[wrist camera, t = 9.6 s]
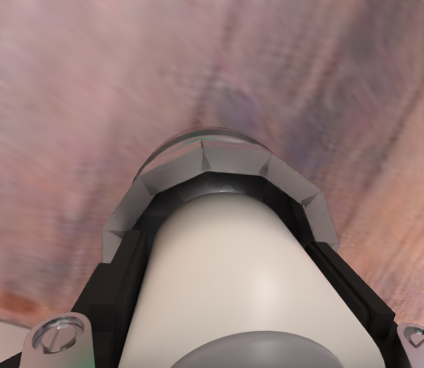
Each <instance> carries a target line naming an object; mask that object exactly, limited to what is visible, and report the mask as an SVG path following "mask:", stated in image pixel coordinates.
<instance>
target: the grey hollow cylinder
mask: <svg viewBox="0 0 424 368" xmlns="http://www.w3.org/2000/svg"><path fill="white" fill-rule="evenodd" d="M217 192H233V193H240V194H244V195H247V196H250V197H253V198H255V199H257V200H259V201H261V202H262V203H264V204H266V205H267V206H268V207H269V208H271V209H272V210H273V211H274V212H275V213H276V214H277V215H278V217H279V218H280V219H281V220H282V222H283V223H284V224H285V226H286V227H287V228H288V230H289V231H290V232H291V233H292V235H293V236H294V237H295V239H296V240H297V241H298V243H299V244H300V245H301V246H302V248H303V249H304V248H305V246H306V245H307V244H309V243H310V242H311V241H317V242H326V243H328V245H329V246H330V247H331V248H332V249H333V250H334V251H335V252H336V253H337V251H338V248H339V240H338V237H337V234H336V231H335V228H334V225H333V222H332V219H331V216H330V213H329V210H328V207H327V204H326V201H325V198H324V195H323V192H322V191H321V189H319V188H318V187H317V186H315V185H314V184H313V183H312V182H310V181H309V180H308V179H306V178H305V177H304V176H302V175H301V174H300V173H298V172H297V171H296V170H294V169H293V168H292V167H290V166H289V165H288V164H286V163H285V162H284V161H282V160H281V159H280V158H278V157H277V156H276V155H275V154H273V153H272V152H271V151H270V150H269V149H268V148H266V147H265V146H263V145H262V144H260V143H259V142H257V141H255V140H254V139H252V138H250V137H248V136H246V135H244V134H242V133H240V132H237V131H234V130H231V129H226V128H220V127H198V128H193V129H189V130H187V131H184V132H181V133H179V134H177V135H176V136H174V137H172V138H170V139H168V140H167V141H166V142H164V143H163V144H162V145H160V146H159V147H158V148H157V149H156V150H155V151H154V152H153V153H152V154H151V156H150V157H149V158H148V159H147V161H146V162H145V163H144V165H143V166H142V167H141V168H140V170H139V171H138V173H137V175H136V177H135V178H134V180H133V183H132V185H131V187H130V189H129V190H128V192H127V193H126V195H125V196H124V198H123V199H122V201H121V202H120V204H119V205H118V207H117V208H116V209H115V211H114V212H113V214H112V215H111V217H110V218H109V220H108V221H107V223H106V224H105V226H104V227H103V230H102V234H103V263H111V261H112V259H113V257H114V255H115V253H116V251H117V249H118V247H119V245H120V243H121V241H122V239H123V237H124V236H125V234H126V232H127V230H138V231H143V235H148V243H147V263H148V259H149V256H150V252H151V248H152V245H153V241H154V238H155V236H156V233H157V231H158V229H159V227H160V226H161V224H162V223H163V221H164V220H165V219H166V218H167V217H168V215H169V214H171V213H172V212H173V211H174V210H175V209H176V208H178V207H179V206H180V205H182V204H183V203H185V202H187V201H189V200H191V199H193V198H196V197H198V196H201V195H205V194H209V193H217Z"/></svg>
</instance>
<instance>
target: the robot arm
mask: <svg viewBox="0 0 424 368" xmlns="http://www.w3.org/2000/svg"><path fill="white" fill-rule="evenodd" d="M147 243H148V235H143V231H138V230H127V232H126V234H125V236H124V237H123V239H122V241H121V243H120V245H119V247H118V249H117V251H116V253H115V255H114V257H113V259H112V261H111V263H99V264H98V266H97V267H96V269H95V271H94V272H93V274H92V276H91V277H90V279H89V281H88V283H87V284H86V286H85V288H84V289H83V291H82V293H81V295H80V296H79V298H78V300H77V301H76V303H75V305H74V306H73V308H72V310H71V312H65V313H59V314H56V315H53V316H50V317H48V318H46V319H44V320H42V321H41V322H39V323H38V324H37V325H35V326H34V327H33V328H32V329H31V330H30V332H29V333H28V334H27V336H26V338H25V341H24V344H23V350H22V352H20V353H18V354H16V355H14V356H12V357H11V358H9V359H7V360H5V361H3V362H1V363H0V368H118V367H119V363H120V359H121V356H122V352H123V349H124V345H125V342H126V338H127V334H128V331H129V327H130V324H131V320H132V316H133V313H134V309H135V306H136V302H137V299H138V295H139V291H140V288H141V284H142V281H143V277H144V274H145V270H146V266H147ZM304 250H305V252H306V253H307V254H308V256H309V257H310V258H311V259H312V261H313V262H314V263H315V265H316V266H317V267H318V269H319V270H320V271H321V273H322V274H323V275H324V276H325V278H326V279H327V280H328V282H329V283H330V284H331V286H332V287H333V288H334V289H335V291H336V292H337V293H338V295H339V296H340V297H341V299H342V300H343V301H344V302H345V304H346V305H347V306H348V308H349V309H350V310H351V312H352V313H353V314H354V315H355V317H356V318H357V319H358V321H359V322H360V323H361V325H362V326H363V327H364V329H365V330H366V331H367V332H368V334H369V335H370V336H371V338H372V339H373V341H374V342H375V344H376V345H377V347H378V348H379V351H380V353H381V355H382V358H383V360H384V364H385V368H424V327H423V326H421V325H418V324H414V323H401V324H399V325H397V324H396V323H395V322H394V321H393V320H394V317H395V315H396V314H395V313H394V312H393V311H392V310H391V309H390V308H389V307H388V306H387V305H386V303H385V302H384V301H383V300H382V299H381V298H380V297H379V296H378V295H377V294H376V293H375V292H374V291H373V290H372V289H371V288H370V287H369V286H368V285H367V284H366V283H365V282H364V281H363V280H362V279H361V278H360V277H359V276H358V275H357V273H356V272H355V271H354V270H353V269H352V268H351V267H350V266H349V265H348V264H347V263H346V262H345V261H344V260H343V259H342V258H341V257H340V256H339V255H338V254H337V253H336V252H335V251H334V250H333V249H332V248H331V247H330V246H329V245H328V243H326V242H317V241H311V242H310V243H309V244H307V245H306V246H305V248H304Z"/></svg>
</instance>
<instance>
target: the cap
mask: <svg viewBox="0 0 424 368" xmlns="http://www.w3.org/2000/svg"><path fill="white" fill-rule="evenodd" d="M118 368H385V364H384V360H383V358H382V355H381V353H380V351H379V348H378V347H377V345H376V344H375V342H374V341H373V339H372V338H371V336H370V335H369V334H368V332H367V331H366V330H365V329H364V327H363V326H362V325H361V323H360V322H359V321H358V319H357V318H356V317H355V315H354V314H353V313H352V312H351V310H350V309H349V308H348V306H347V305H346V304H345V302H344V301H343V300H342V299H341V297H340V296H339V295H338V293H337V292H336V291H335V289H334V288H333V287H332V286H331V284H330V283H329V282H328V280H327V279H326V278H325V276H324V275H323V274H322V273H321V271H320V270H319V269H318V267H317V266H316V265H315V263H314V262H313V261H312V259H311V258H310V257H309V256H308V254H307V253H306V252H305V250H304V249H303V248H302V246H301V245H300V244H299V243H298V241H297V240H296V239H295V237H294V236H293V235H292V233H291V232H290V231H289V230H288V228H287V227H286V226H285V224H284V223H283V222H282V220H281V219H280V218H279V217H278V215H277V214H276V213H275V212H274V211H273V210H272V209H271V208H269V207H268V206H267V205H266V204H264V203H262V202H261V201H259V200H257V199H255V198H253V197H250V196H247V195H244V194H240V193H233V192H217V193H209V194H205V195H201V196H198V197H196V198H193V199H191V200H189V201H187V202H185V203H183V204H182V205H180V206H179V207H178V208H176V209H175V210H174V211H173V212H172V213H171V214H169V215H168V217H167V218H166V219H165V220H164V221H163V223H162V224H161V226H160V227H159V229H158V231H157V233H156V236H155V238H154V241H153V245H152V248H151V252H150V256H149V259H148V263H147V266H146V270H145V274H144V277H143V281H142V284H141V288H140V291H139V295H138V299H137V302H136V306H135V309H134V313H133V316H132V320H131V324H130V327H129V331H128V334H127V338H126V342H125V345H124V349H123V352H122V356H121V359H120V363H119V367H118Z"/></svg>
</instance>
